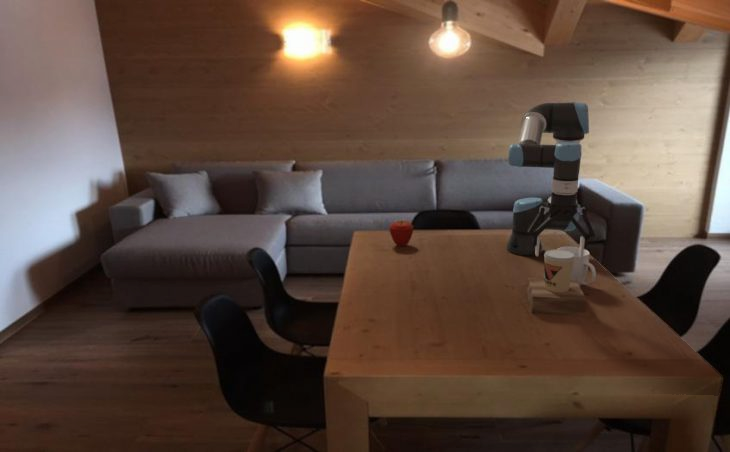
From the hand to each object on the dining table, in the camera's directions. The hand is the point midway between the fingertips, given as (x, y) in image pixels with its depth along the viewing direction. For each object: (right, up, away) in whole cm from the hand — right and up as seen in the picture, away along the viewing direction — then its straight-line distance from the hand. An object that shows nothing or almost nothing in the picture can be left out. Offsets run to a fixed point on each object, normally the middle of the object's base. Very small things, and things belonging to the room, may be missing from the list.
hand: (558, 255), depth 163 cm
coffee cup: (0, -11, +3) cm, 11 cm away
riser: (0, -17, +4) cm, 17 cm away
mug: (+13, -12, +20) cm, 26 cm away
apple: (-46, +1, +69) cm, 83 cm away
